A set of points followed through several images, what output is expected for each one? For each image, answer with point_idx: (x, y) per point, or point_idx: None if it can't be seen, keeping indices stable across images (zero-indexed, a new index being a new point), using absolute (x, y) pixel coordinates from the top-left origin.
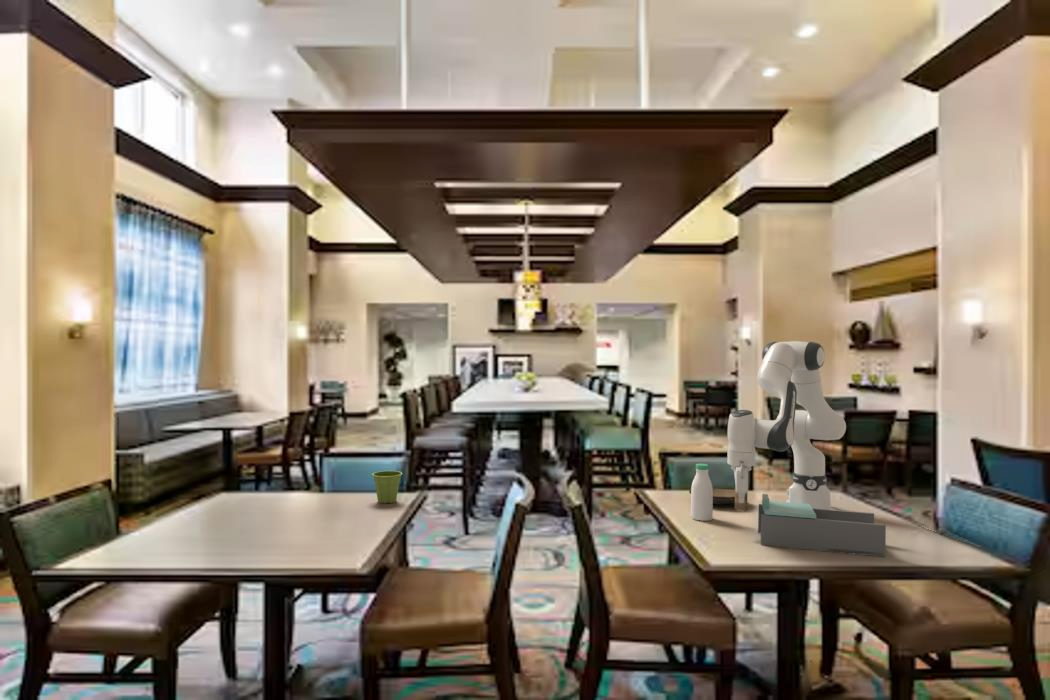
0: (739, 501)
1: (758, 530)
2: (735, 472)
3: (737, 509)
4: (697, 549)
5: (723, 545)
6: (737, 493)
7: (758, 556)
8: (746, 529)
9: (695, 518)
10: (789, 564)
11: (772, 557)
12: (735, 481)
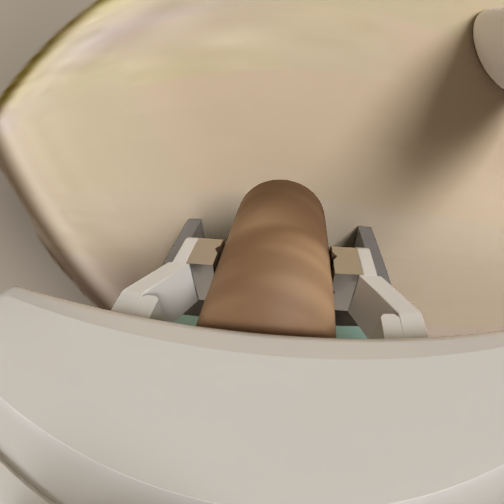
0: (185, 245)
1: (359, 230)
2: (441, 491)
3: (245, 195)
4: (51, 50)
5: (118, 102)
6: (215, 277)
7: (81, 207)
8: (395, 190)
9: (478, 14)
10: (78, 262)
11: (95, 237)
12: (260, 391)
